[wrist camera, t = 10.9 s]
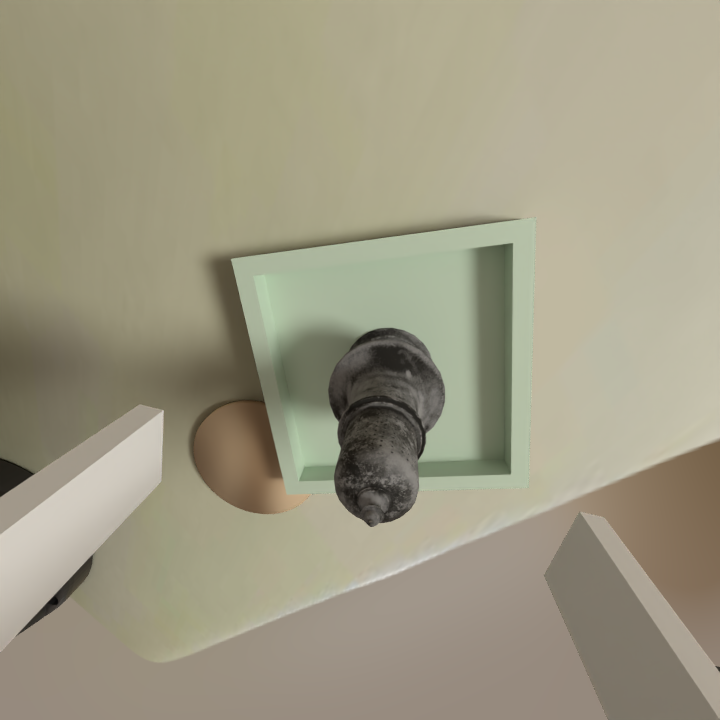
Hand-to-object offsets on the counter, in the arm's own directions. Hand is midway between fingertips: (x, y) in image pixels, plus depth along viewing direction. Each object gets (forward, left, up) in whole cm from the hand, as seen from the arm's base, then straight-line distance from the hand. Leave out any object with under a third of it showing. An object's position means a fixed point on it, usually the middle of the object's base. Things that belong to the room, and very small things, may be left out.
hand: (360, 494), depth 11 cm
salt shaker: (0, 0, -11) cm, 11 cm away
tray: (+1, 0, -11) cm, 11 cm away
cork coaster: (-9, -6, -11) cm, 16 cm away
